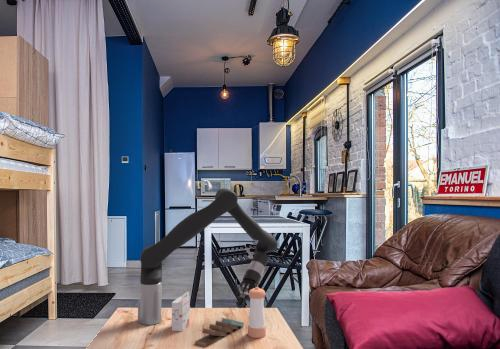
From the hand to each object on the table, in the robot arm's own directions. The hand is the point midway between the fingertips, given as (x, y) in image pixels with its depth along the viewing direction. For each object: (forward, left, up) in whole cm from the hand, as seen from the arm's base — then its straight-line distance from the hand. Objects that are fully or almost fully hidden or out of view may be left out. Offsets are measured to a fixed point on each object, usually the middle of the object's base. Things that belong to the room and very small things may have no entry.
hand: (238, 307), depth 166 cm
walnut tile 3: (-2, -8, -7) cm, 11 cm away
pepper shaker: (+10, -7, -8) cm, 15 cm away
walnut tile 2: (-1, -4, -7) cm, 8 cm away
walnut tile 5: (-4, -15, -8) cm, 18 cm away
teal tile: (0, 0, -7) cm, 7 cm away
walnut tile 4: (-3, -12, -7) cm, 15 cm away
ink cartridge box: (-23, -10, -8) cm, 26 cm away
